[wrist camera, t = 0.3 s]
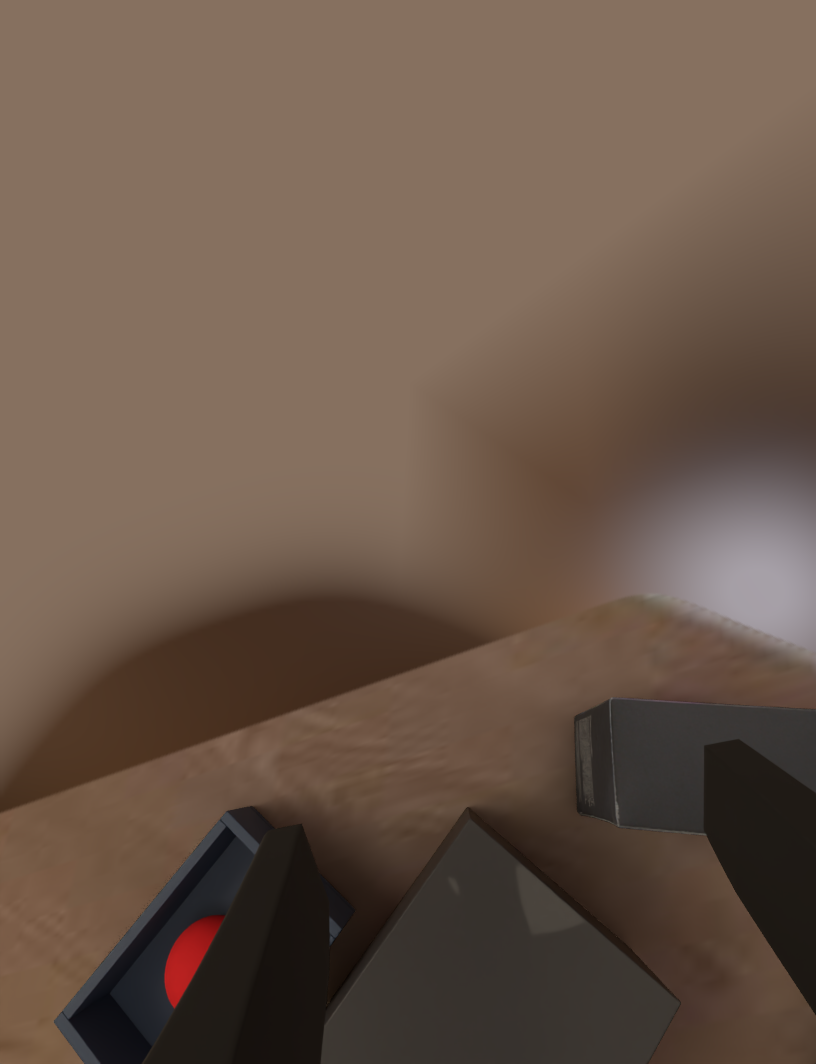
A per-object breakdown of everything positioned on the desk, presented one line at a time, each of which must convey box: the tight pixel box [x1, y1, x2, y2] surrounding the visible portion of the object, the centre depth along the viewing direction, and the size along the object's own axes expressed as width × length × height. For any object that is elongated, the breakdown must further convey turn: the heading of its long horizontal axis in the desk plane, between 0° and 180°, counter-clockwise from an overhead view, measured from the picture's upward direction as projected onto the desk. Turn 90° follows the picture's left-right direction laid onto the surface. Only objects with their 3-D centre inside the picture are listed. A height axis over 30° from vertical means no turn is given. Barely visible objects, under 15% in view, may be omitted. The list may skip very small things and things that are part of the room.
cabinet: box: [321, 807, 681, 1064], centre depth 30 cm, size 13×12×8 cm
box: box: [54, 806, 355, 1064], centre depth 33 cm, size 13×9×5 cm
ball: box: [165, 915, 225, 1009], centre depth 33 cm, size 5×5×5 cm
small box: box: [574, 697, 816, 836], centre depth 33 cm, size 11×6×10 cm, turn 86°
